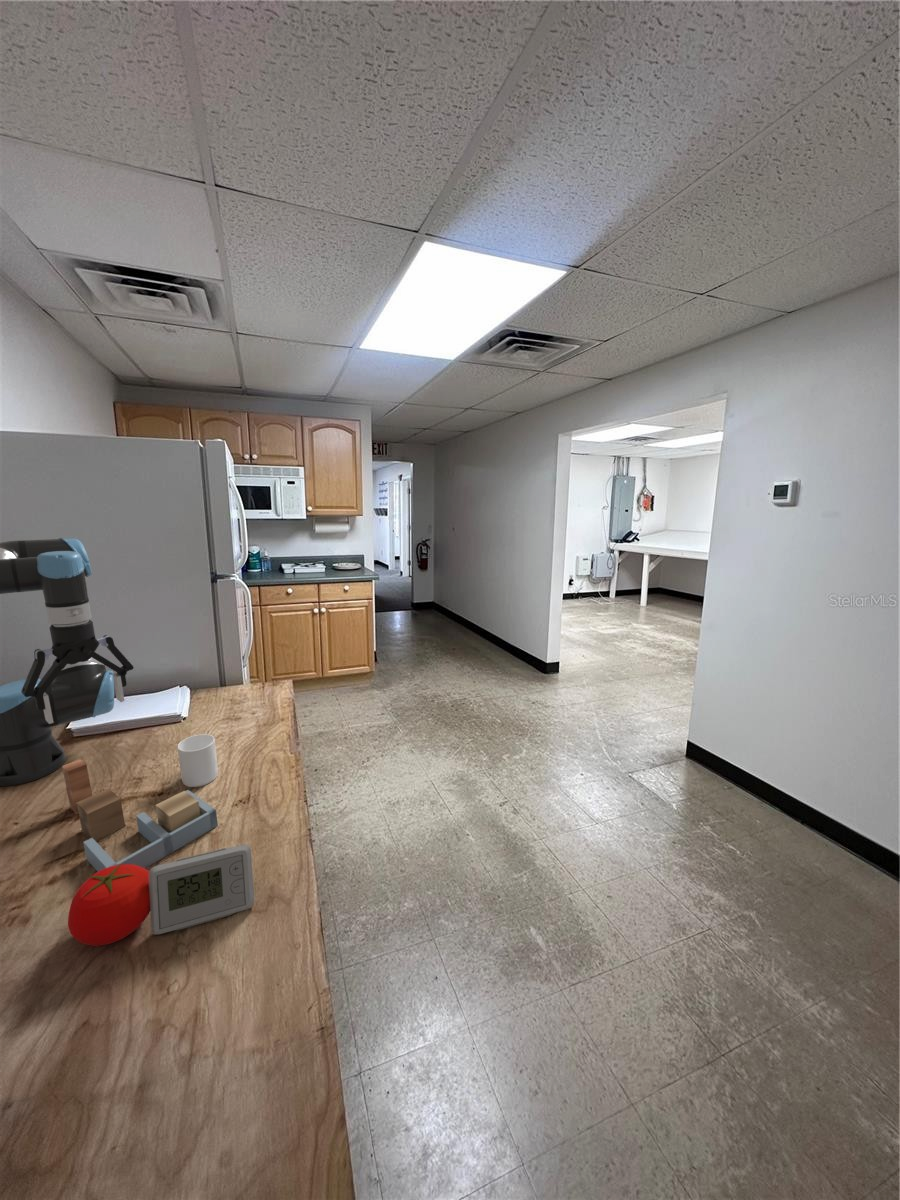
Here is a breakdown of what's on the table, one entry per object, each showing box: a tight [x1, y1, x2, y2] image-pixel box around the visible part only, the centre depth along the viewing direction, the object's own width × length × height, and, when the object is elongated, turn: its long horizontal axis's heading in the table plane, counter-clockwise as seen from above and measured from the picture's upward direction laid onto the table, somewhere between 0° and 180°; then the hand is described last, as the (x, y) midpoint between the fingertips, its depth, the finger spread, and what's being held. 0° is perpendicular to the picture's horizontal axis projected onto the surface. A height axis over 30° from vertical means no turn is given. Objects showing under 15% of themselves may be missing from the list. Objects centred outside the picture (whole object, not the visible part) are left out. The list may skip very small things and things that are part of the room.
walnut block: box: [61, 759, 126, 842], centre depth 104 cm, size 17×6×11 cm, turn 55°
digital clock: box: [148, 843, 255, 936], centre depth 82 cm, size 16×9×11 cm, turn 100°
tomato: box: [67, 864, 150, 947], centre depth 79 cm, size 11×12×10 cm
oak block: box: [155, 790, 200, 833], centre depth 102 cm, size 6×6×7 cm
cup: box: [177, 733, 219, 788], centre depth 121 cm, size 8×12×10 cm
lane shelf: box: [83, 789, 219, 872], centre depth 99 cm, size 12×20×4 cm, turn 145°
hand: (86, 710), depth 108 cm, fingers open, 13 cm apart
